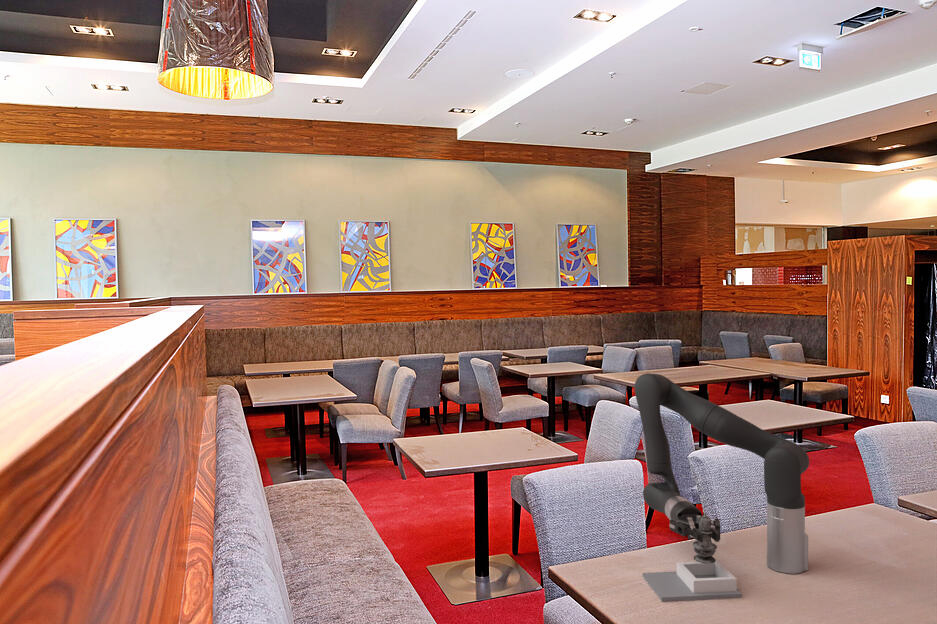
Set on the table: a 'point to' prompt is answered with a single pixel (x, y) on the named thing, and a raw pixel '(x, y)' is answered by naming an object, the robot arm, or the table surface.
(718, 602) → the table surface
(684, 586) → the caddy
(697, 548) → the salt shaker
